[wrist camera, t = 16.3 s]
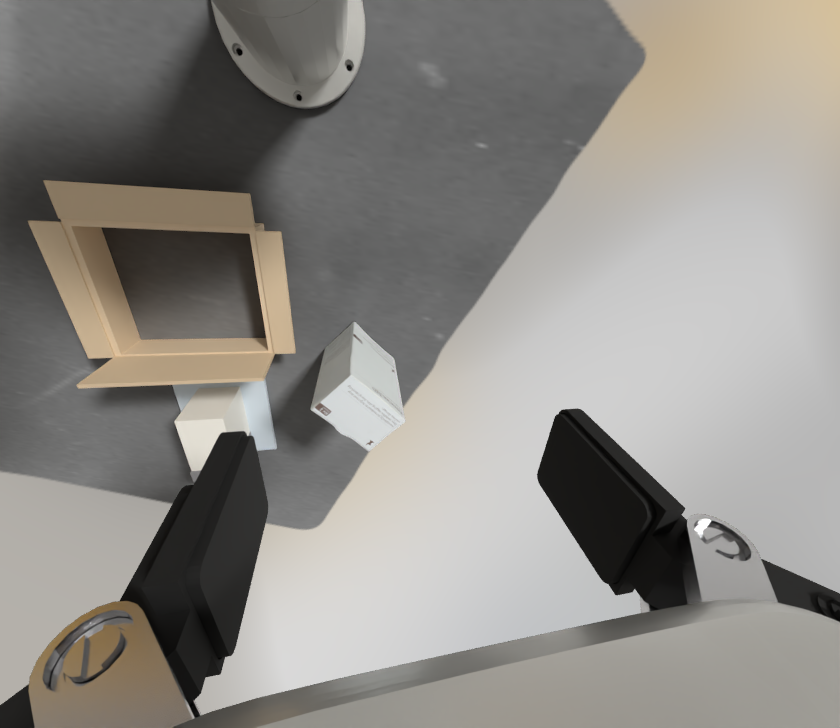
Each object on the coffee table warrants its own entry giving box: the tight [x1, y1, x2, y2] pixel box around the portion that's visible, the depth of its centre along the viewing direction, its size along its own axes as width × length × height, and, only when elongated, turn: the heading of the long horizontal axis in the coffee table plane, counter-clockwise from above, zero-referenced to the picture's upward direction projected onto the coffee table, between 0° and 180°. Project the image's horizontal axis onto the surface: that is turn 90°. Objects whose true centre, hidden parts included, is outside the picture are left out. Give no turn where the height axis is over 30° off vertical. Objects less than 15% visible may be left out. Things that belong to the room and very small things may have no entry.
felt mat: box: [172, 379, 277, 451], centre depth 46 cm, size 13×11×1 cm
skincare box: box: [311, 322, 405, 451], centre depth 39 cm, size 8×6×15 cm
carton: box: [28, 180, 296, 388], centre depth 33 cm, size 17×21×10 cm
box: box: [174, 387, 252, 482], centre depth 43 cm, size 9×5×7 cm, turn 176°
